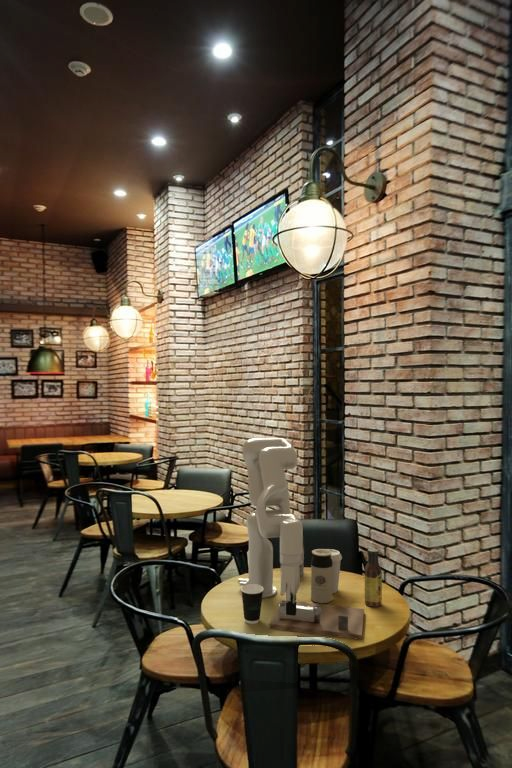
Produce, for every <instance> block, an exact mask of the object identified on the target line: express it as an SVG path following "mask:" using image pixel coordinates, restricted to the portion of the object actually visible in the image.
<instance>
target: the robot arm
mask: <svg viewBox="0 0 512 768" xmlns="http://www.w3.org/2000/svg"><path fill="white" fill-rule="evenodd" d="M242 457H243V462H244V464H245V466H246V469H247V470H246V471H247V476H248V477H247V480H248V497H249V503H250V505H251V506H252V507H255V510H254V511H252V512H250V513H249V514H248V515H247V517H246V529H247V536H248V578H240V577H239V578H238V580H237V581H238V582H237V583H238V584H239V586H241V587H242V586H244V585H248V584H256V585H260V586H262V587H263V588H264V590H263V594H262V599H265V598H266V599H267V598H271V597H273V596H275V595H276V594H277V587H276V586H275V585H273V584H274V547H273V544H272V542H271V540H269V539H272V538H273V539H274V538H279V563H280V565H281V564H282V571H281V570H280V574H281V575H280V596H284V595H285V600H286V615H292V616H295V615H296V602H297V593H298V591H299V588H300V583H301V581H300V580H301V579H300V578H301V576H300V567H299V566H300V564H302V563H303V545H302V540H303V537H304V536H303V522H302V521H301V520H300V519H299V518H298V517H297V515H296V514H293V513H291V503H290V501H291V500H290V492H289V488H288V481H287V476H286V473H285V470H293V469H295V468H296V467H297V464H298V456H297V452H296V449H295V448H294V447H293V446H292V444H291V443H289V442H288V441H287V440H286V439H285V438H282V437H268V438H267V437H261V438H260V437H257V438H256V437H255V438H249V439H247V440H246V441H244V442H243V445H242ZM267 507H276V509H266V508H267Z"/></svg>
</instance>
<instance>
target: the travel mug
mask: <svg viewBox="0 0 512 768" xmlns="http://www.w3.org/2000/svg"><path fill="white" fill-rule="evenodd" d="M311 553H312V557H311V559H310V568H311V569H310V599H311V601H313V603H314V602H315V603H316V604H328V603H330V602H332V601H333V593H332V559H331V554H332V552H331V551H329V550H326V548H317V549H313V550H311Z"/></svg>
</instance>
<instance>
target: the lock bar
mask: <svg viewBox="0 0 512 768" xmlns="http://www.w3.org/2000/svg"><path fill="white" fill-rule="evenodd" d="M279 603H280V606H279V618H284V619H292V620H301V621H309V622H315V623H319V622H320V607H319V606H314V607H306V606H297V605H296V615H295V616H292V615H286V602H285V601H281V600H280V601H279Z"/></svg>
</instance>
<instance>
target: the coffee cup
mask: <svg viewBox="0 0 512 768" xmlns="http://www.w3.org/2000/svg"><path fill="white" fill-rule="evenodd" d="M325 549H326V548H325ZM326 550H329V551H331V552H332V554H331V559H332V594H335V593H338V591H339V585H340V584H339V583H340V571H341V560H342V559H343V556H342V554H341V553H340V551H339V550H338V549H337V550H336V549H332V548H331V549H330V548H327V549H326Z"/></svg>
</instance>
